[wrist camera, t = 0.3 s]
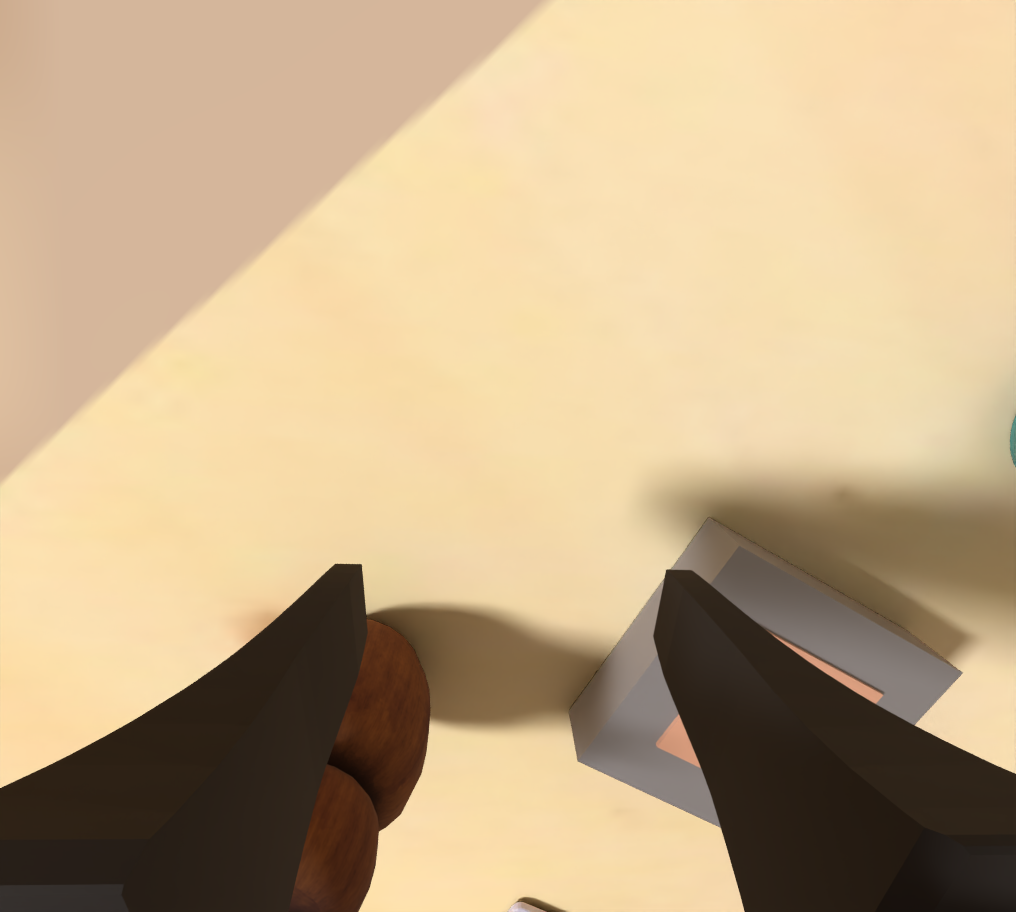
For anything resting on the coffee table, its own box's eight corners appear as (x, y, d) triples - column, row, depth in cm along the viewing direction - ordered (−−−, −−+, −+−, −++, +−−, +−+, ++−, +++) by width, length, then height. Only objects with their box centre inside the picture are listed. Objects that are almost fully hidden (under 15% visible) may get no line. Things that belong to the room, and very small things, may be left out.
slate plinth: (758, 802, 27) (791, 863, 24) (568, 711, 25) (578, 765, 22) (908, 631, 25) (967, 676, 22) (708, 516, 23) (741, 547, 20)
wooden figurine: (462, 667, 25) (412, 1159, 10) (378, 732, 26) (221, 1269, 11) (363, 572, 23) (140, 988, 9) (277, 645, 24) (-52, 1131, 10)
